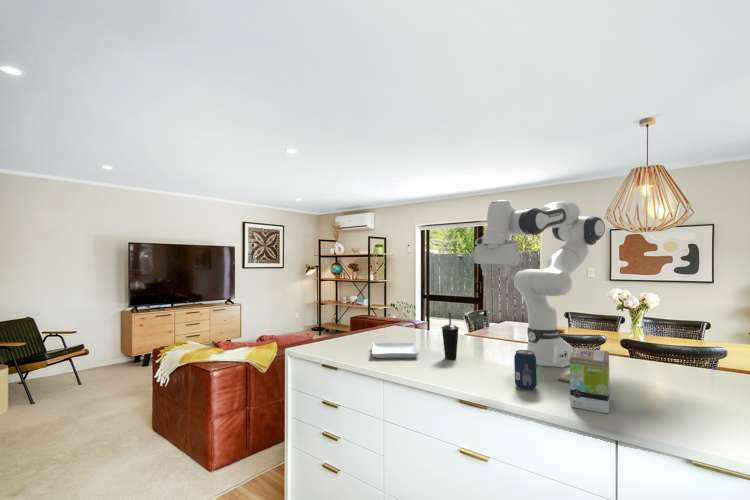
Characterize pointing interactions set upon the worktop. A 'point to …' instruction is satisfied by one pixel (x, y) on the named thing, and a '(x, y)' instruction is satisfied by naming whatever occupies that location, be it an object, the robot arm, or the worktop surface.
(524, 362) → the soda can
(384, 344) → the salad plate
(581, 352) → the tea box
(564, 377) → the walnut coaster
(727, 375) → the worktop surface
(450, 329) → the drinking cup
